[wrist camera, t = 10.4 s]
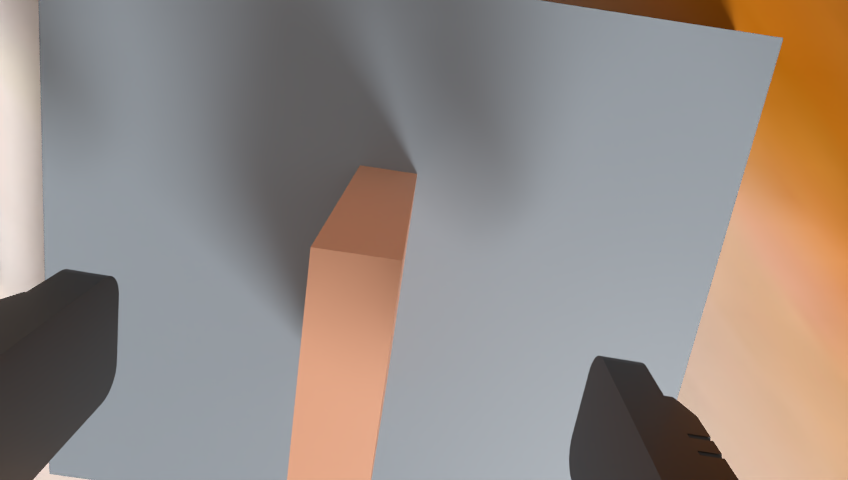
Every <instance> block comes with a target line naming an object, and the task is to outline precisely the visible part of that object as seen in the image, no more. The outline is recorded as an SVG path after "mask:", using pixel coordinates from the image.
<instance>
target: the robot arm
mask: <svg viewBox="0 0 848 480" xmlns="http://www.w3.org/2000/svg"><path fill="white" fill-rule="evenodd" d="M118 310H119V288H118V283H117V281H116V279H115V278H114V277H113V276H108V275H101V274H95V273H89V272H83V271H77V270H70V269H63V270H61V271H59V272H58V273H56V274H54V275H53V276H51V277H50V278H48V279H47V280H45V281H43V282H42V283H40V284H39V285H37V286H36V287H34V288H32V289H31V290H29V291H28V292H23V293H19V294H16V295H13V296H10V297H7V298H3V299H0V480H33V479H34V478H35V477H36V475H37V474H38V473H39V472H40V471H41V470H42V469H43V468H44V467H45V466H46V464H47V463H48V462H49V461H50V460H51V459H52V458H53V457H54V456H55V455H56V453H57V452H58V451H59V450H60V449H61V448H62V447H63V446H64V445H65V444H66V442H67V441H68V440H69V439H70V438H71V437H72V436H73V435H74V434H75V433H76V431H77V430H78V429H79V428H80V427H81V426H82V425H83V424H84V423H85V422H86V420H87V419H88V418H89V417H90V416H91V415H92V414H93V413H94V412H95V411H96V409H97V408H98V407H99V406H100V405H101V404H102V403H103V402H104V400H105V399H106V397H107V395H108V394H109V392H110V389H111V387H112V384H113V381H114V378H115V373H116V367H117V344H118ZM721 456H722V454H721V452H720V451H719V449H718V448H717V446H716V445H715V443H714V442H713V441H710V436H709V434H708V433H707V431H706V430H705V428H704V427H703V425H702V423H701V422H700V420H699V419H698V417H697V416H696V415H694V414H693V413H692V412H691V411H690V410H688V409H687V408H686V407H685V406H683V405H682V404H681V403H680V402H678V401H677V400H676V399H675V398H674V397H670V396H664V395H663V393H662V391H661V390H660V388H659V386H658V385H657V383H656V381H655V380H654V378H653V377H652V375H651V373H650V372H649V370H648V368H647V367H646V365H645V364H644V363H642V362H636V361H630V360H624V359H617V358H611V357H605V356H597V357H595V359H594V360H593V362H592V364H591V367H590V370H589V374H588V377H587V381H586V385H585V389H584V392H583V396H582V400H581V404H580V407H579V411H578V415H577V419H576V423H575V426H574V430H573V434H572V438H571V443H570V452H569V470H570V476H571V480H738V478H737V477H736V475H735V474H734V472H733V471H732V469H731V468H730V466H729V465H728V463H727V462H726V460H725V459H722V457H721Z"/></svg>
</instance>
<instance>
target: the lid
mask: <svg viewBox="0 0 848 480" xmlns="http://www.w3.org/2000/svg"><path fill="white" fill-rule="evenodd" d="M39 39H40V82H41V125H42V168H43V212H44V255H45V280H47V279H48V278H50V277H51V276H53V275H54V274H56V273H58V272H59V271H61V270H63V269H70V270H77V271H83V272H89V273H95V274H101V275H108V276H113V277H114V278H115V279H116V281H117V283H118V288H119V310H118V344H117V367H116V373H115V378H114V381H113V384H112V387H111V389H110V392H109V394H108V395H107V397H106V399H105V400H104V402H103V403H102V404H101V405H100V406H99V407H98V408H97V409H96V411H95V412H94V413H93V414H92V415H91V416H90V417H89V418H88V419H87V420H86V422H85V423H84V424H83V425H82V426H81V427H80V428H79V429H78V430H77V431H76V433H75V434H74V435H73V436H72V437H71V438H70V439H69V440H68V441H67V442H66V444H65V445H64V446H63V447H62V448H61V449H60V450H59V451H58V452H57V453H56V455H55V456H54V457H53V458H52V459H51V460H50V461H49V470H50V474H55V475H62V476H69V477H76V478H83V479H91V480H571V476H570V470H569V452H570V443H571V438H572V434H573V430H574V426H575V423H576V419H577V415H578V411H579V407H580V404H581V400H582V396H583V392H584V389H585V385H586V381H587V377H588V374H589V370H590V367H591V364H592V362H593V360H594V359H595V357H597V356H605V357H611V358H617V359H624V360H630V361H636V362H642V363H644V364H645V365H646V367H647V368H648V370H649V372H650V373H651V375H652V377H653V378H654V380H655V381H656V383H657V385H658V386H659V388H660V390H661V391H662V393H663V395H664V396H670V397H674V398H675V399H676V400H677V398H678V394H679V391H680V388H681V384H682V381H683V377H684V374H685V371H686V367H687V364H688V360H689V357H690V354H691V350H692V347H693V343H694V340H695V337H696V333H697V330H698V326H699V323H700V320H701V316H702V313H703V309H704V306H705V303H706V299H707V296H708V292H709V289H710V286H711V282H712V279H713V275H714V272H715V269H716V265H717V262H718V258H719V255H720V252H721V248H722V245H723V241H724V238H725V235H726V231H727V228H728V224H729V221H730V218H731V214H732V211H733V207H734V204H735V201H736V197H737V194H738V190H739V187H740V184H741V180H742V177H743V173H744V170H745V167H746V163H747V160H748V156H749V153H750V150H751V146H752V143H753V139H754V136H755V133H756V129H757V126H758V122H759V119H760V116H761V112H762V109H763V105H764V102H765V99H766V95H767V92H768V89H769V85H770V82H771V78H772V75H773V72H774V68H775V65H776V61H777V58H778V55H779V51H780V48H781V44H782V41H783V38H780V37H773V36H767V35H760V34H754V33H747V32H741V31H734V30H728V29H722V28H715V27H709V26H702V25H696V24H689V23H683V22H677V21H670V20H664V19H657V18H651V17H644V16H638V15H631V14H625V13H619V12H612V11H606V10H599V9H593V8H586V7H580V6H574V5H567V4H561V3H554V2H548V1H541V0H39Z"/></svg>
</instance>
